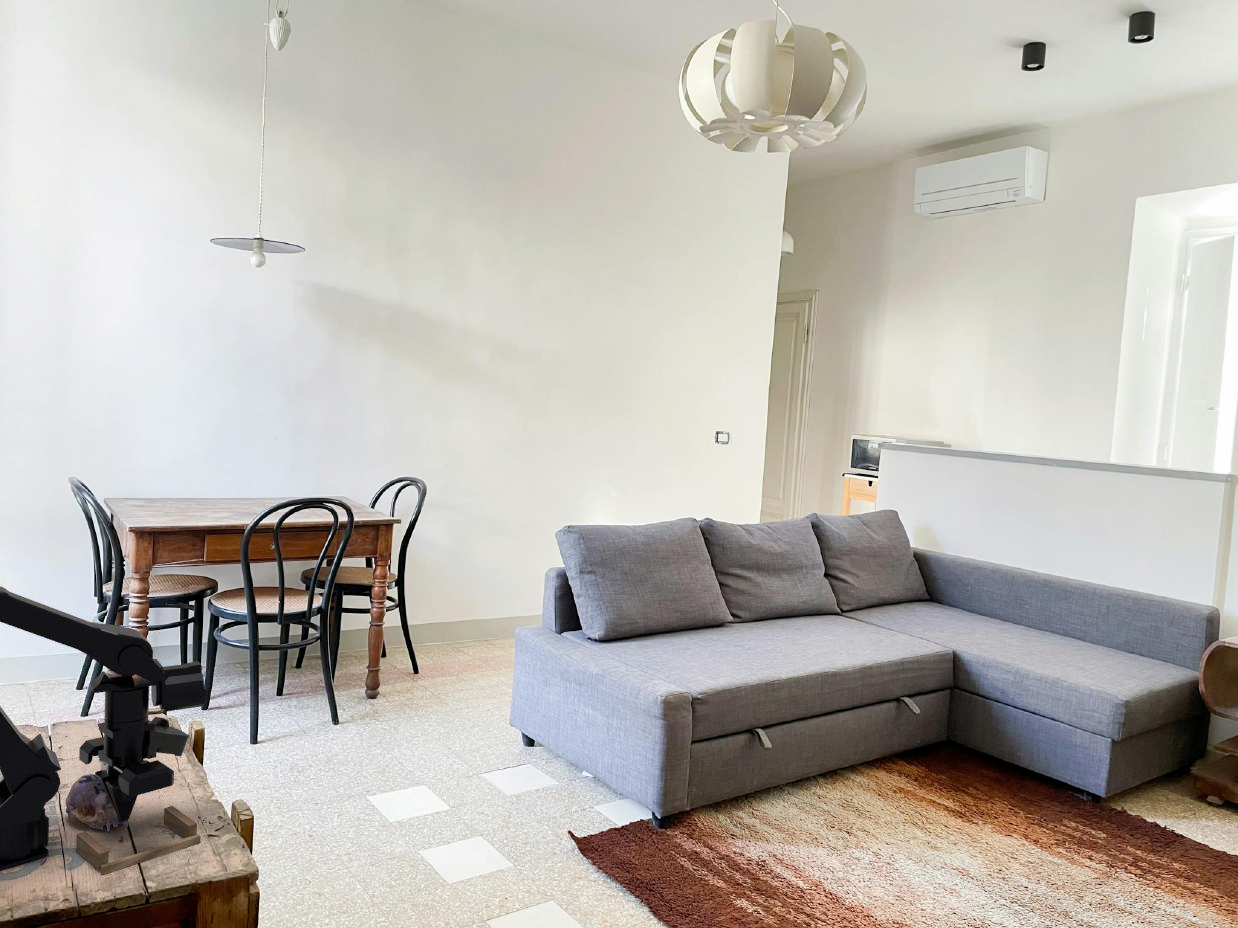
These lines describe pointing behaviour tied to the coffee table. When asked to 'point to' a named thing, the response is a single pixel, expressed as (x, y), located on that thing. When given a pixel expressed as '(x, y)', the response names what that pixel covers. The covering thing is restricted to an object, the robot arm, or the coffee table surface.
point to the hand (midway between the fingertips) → (124, 819)
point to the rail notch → (100, 855)
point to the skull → (91, 803)
